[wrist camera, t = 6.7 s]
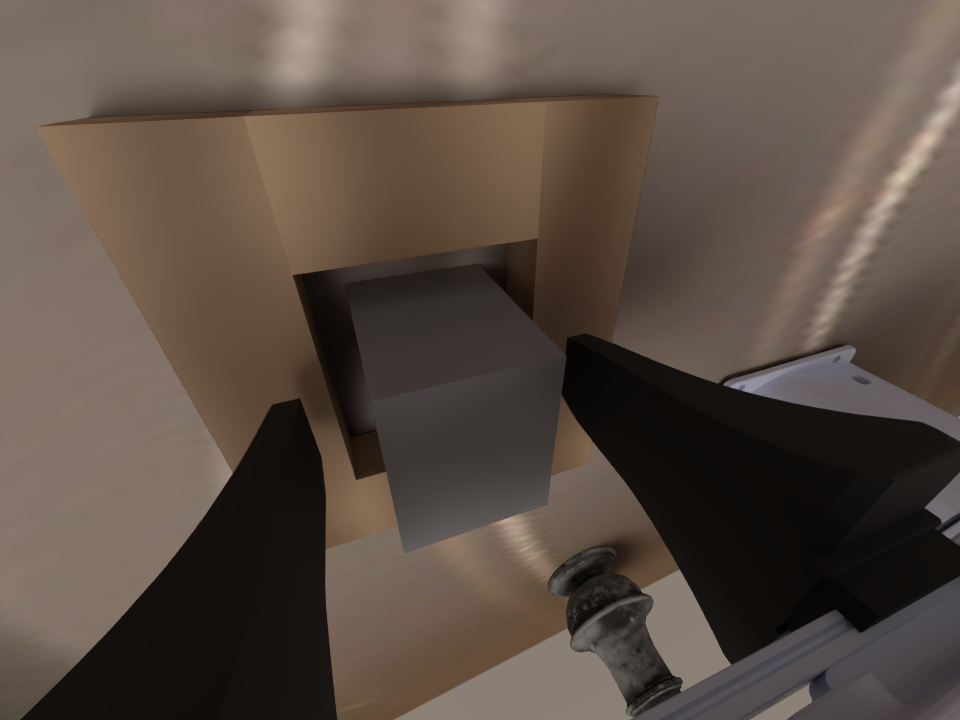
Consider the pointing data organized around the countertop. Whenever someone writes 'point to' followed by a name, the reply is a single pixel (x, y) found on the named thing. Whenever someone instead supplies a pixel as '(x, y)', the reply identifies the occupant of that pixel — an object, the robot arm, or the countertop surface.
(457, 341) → the plug
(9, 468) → the countertop surface
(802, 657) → the robot arm
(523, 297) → the socket frame
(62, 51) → the countertop surface
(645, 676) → the weathered stone finial
